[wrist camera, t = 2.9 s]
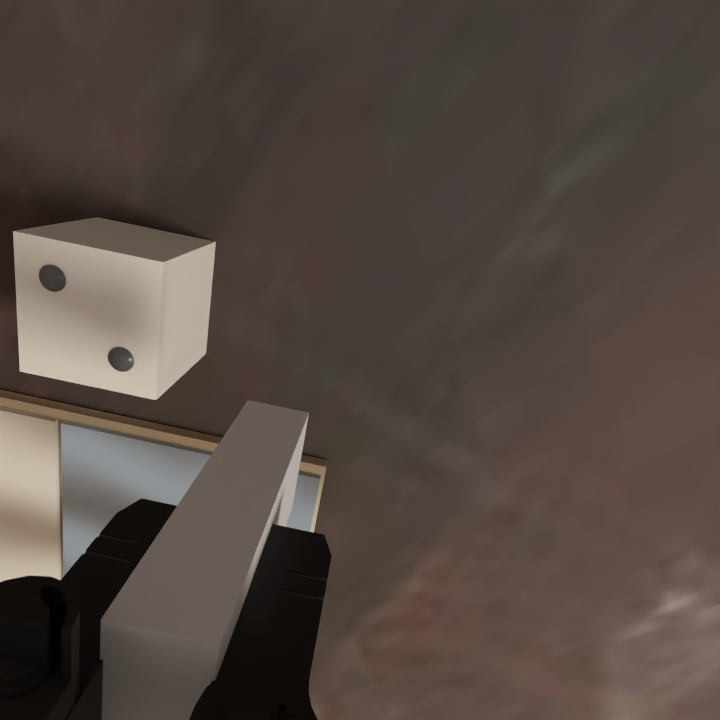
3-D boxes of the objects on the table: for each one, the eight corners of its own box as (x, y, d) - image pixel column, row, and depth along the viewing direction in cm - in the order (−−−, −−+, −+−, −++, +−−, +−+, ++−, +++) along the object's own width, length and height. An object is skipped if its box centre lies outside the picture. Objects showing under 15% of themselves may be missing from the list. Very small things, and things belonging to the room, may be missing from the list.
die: (98, 217, 22) (11, 231, 17) (216, 241, 22) (163, 262, 17) (97, 330, 23) (18, 371, 19) (206, 353, 23) (155, 400, 19)
